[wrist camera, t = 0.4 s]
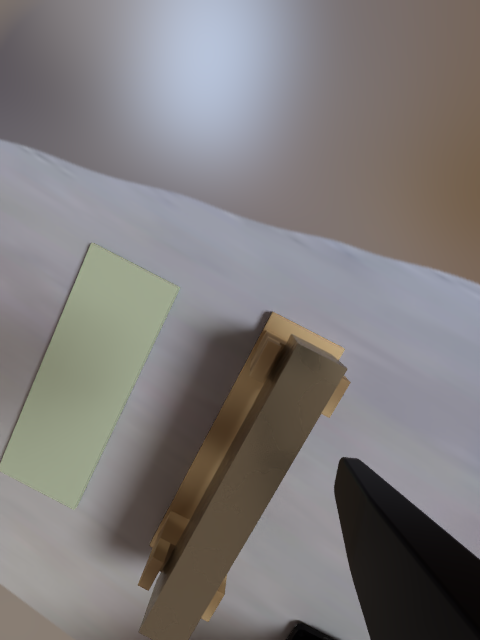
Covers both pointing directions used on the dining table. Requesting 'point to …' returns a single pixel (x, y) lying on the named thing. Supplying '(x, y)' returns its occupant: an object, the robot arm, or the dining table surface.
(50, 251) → the dining table surface
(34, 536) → the dining table surface
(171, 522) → the rack
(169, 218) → the dining table surface
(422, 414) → the dining table surface
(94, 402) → the mat
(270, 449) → the rail
